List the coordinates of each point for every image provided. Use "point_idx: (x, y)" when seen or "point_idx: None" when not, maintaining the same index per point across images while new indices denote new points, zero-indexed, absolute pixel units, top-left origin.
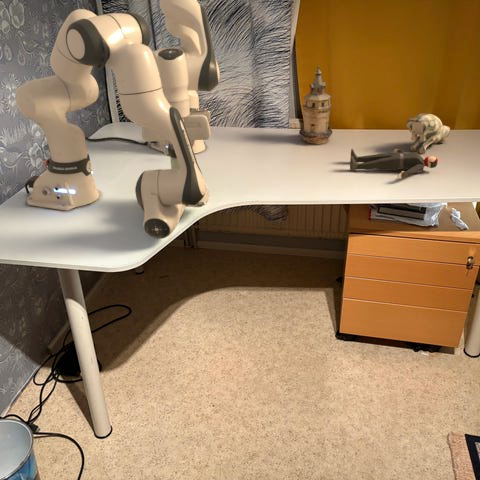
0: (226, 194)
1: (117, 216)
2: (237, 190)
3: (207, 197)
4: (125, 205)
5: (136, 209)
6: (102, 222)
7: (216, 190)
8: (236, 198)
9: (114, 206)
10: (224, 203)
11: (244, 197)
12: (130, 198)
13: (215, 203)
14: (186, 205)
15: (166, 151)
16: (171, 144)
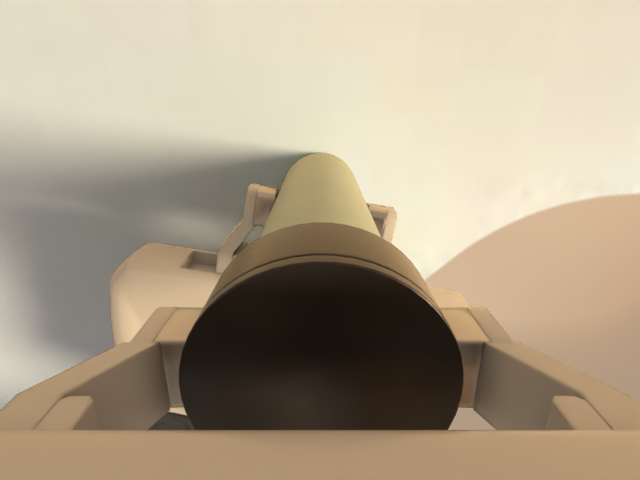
0: (553, 108)
1: (62, 299)
2: (626, 57)
3: None
4: (56, 199)
5: (122, 243)
6: (23, 341)
7: (510, 46)
8: (590, 163)
9: (8, 206)
10: (519, 214)
11: (633, 154)
12: (51, 119)
13: (478, 210)
14: None
15: None
16: (217, 306)
